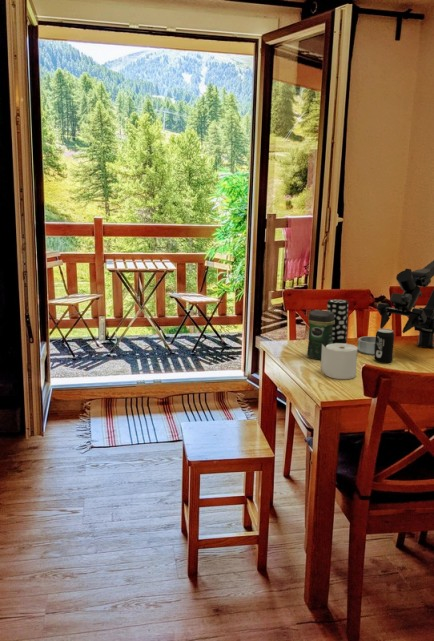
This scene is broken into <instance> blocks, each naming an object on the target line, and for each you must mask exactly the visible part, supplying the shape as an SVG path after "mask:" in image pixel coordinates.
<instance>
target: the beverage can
mask: <svg viewBox="0 0 434 641" xmlns="http://www.w3.org/2000/svg"><path fill="white" fill-rule="evenodd" d="M376 331H377V332H376V333H375V337H376V340H375V355H373V358H374V361H376V362H377V363H380V364H389V363H391V362H393V360H394V358H393V356H394V345H395V344H394V343H395V341H394V340H395V334H394V330H393V329H390V328H382V329H381V328H378V329H377V330H376Z"/></svg>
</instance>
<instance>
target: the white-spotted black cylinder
mask: <svg viewBox="0 0 434 641" xmlns="http://www.w3.org/2000/svg"><path fill="white" fill-rule="evenodd" d="M326 304H327V306H326V311H331V312H333V313H334V319H335V322H334V325H333V329H332V339H333V344H334V343H343V344H347V342H348V341H347V340H348V338H347V336H348V318H349V301H348V300H345V299H339V298H336V299H335V298H334V299H328V300H327V301H326Z"/></svg>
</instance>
